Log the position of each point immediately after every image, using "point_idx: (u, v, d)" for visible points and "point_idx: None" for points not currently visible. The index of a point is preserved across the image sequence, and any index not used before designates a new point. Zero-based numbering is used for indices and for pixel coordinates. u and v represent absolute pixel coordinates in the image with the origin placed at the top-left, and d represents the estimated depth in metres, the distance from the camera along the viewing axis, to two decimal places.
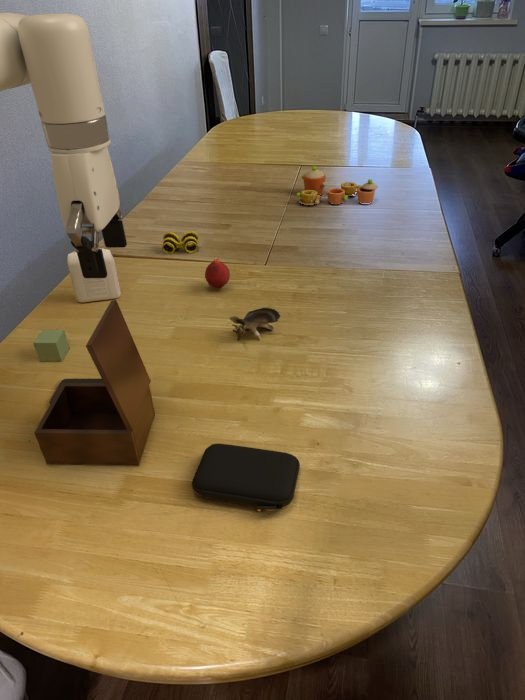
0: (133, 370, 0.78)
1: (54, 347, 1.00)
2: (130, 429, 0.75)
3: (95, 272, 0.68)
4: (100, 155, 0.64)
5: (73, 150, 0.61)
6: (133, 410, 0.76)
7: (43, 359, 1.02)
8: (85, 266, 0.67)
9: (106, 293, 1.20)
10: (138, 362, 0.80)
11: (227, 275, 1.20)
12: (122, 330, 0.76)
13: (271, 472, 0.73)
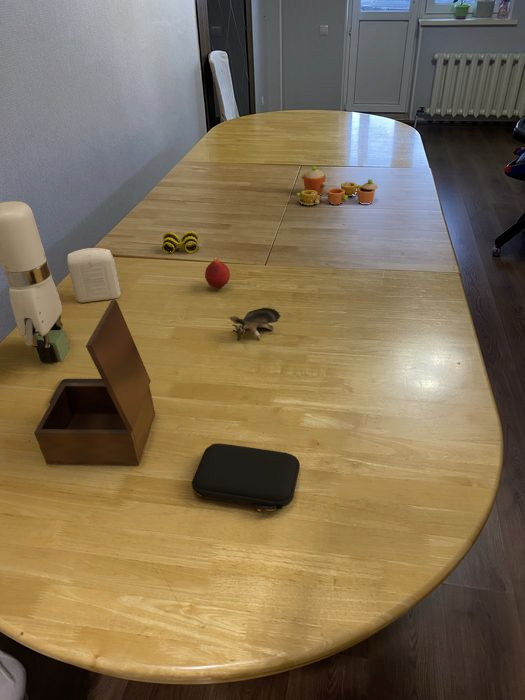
0: (133, 370, 0.78)
1: (54, 347, 1.00)
2: (130, 429, 0.75)
3: (48, 360, 1.00)
4: (44, 285, 0.94)
5: (24, 287, 0.91)
6: (133, 410, 0.76)
7: None
8: (41, 356, 1.00)
9: (106, 293, 1.20)
10: (138, 362, 0.80)
11: (227, 275, 1.20)
12: (122, 330, 0.76)
13: (271, 472, 0.73)
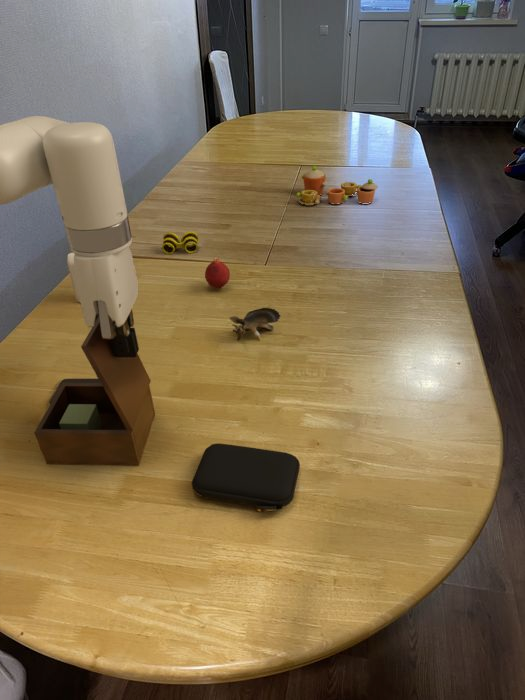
0: (132, 370, 0.78)
1: (85, 428, 0.80)
2: (130, 429, 0.75)
3: (126, 353, 0.72)
4: (122, 253, 0.64)
5: (96, 253, 0.61)
6: (132, 410, 0.76)
7: None
8: (117, 348, 0.72)
9: None
10: (137, 362, 0.80)
11: (227, 275, 1.20)
12: None
13: (271, 472, 0.73)
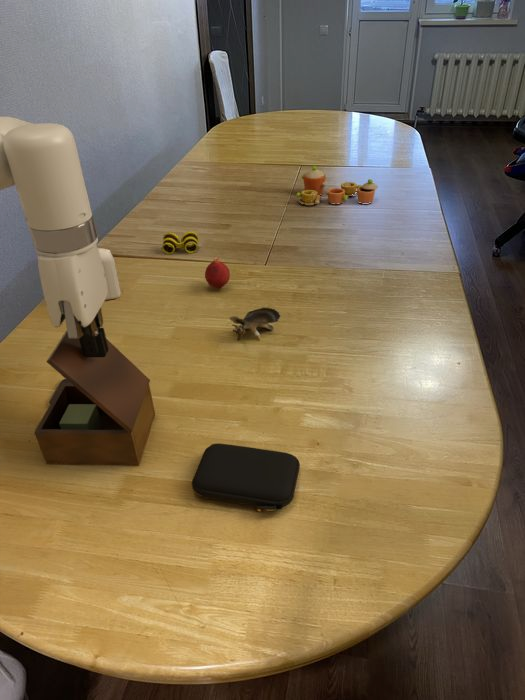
0: (120, 373, 0.79)
1: (85, 428, 0.80)
2: (129, 429, 0.75)
3: (95, 353, 0.72)
4: (87, 253, 0.64)
5: (60, 254, 0.61)
6: (128, 411, 0.76)
7: None
8: (86, 348, 0.72)
9: None
10: (127, 365, 0.81)
11: (227, 275, 1.20)
12: None
13: (271, 472, 0.73)
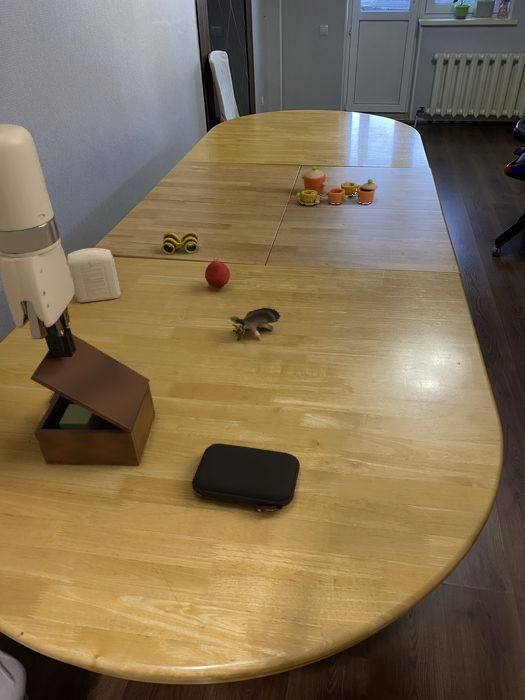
0: (114, 378, 0.79)
1: (85, 428, 0.80)
2: (128, 429, 0.75)
3: (61, 353, 0.73)
4: (50, 254, 0.65)
5: (20, 254, 0.61)
6: (126, 412, 0.76)
7: None
8: (52, 348, 0.72)
9: (106, 293, 1.20)
10: (121, 369, 0.81)
11: (227, 275, 1.20)
12: (83, 350, 0.79)
13: (271, 472, 0.73)
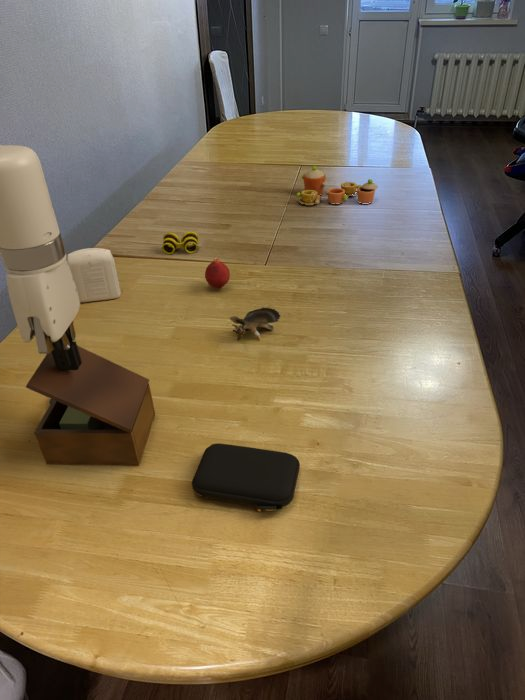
0: (112, 380, 0.79)
1: (85, 428, 0.80)
2: (128, 429, 0.75)
3: (67, 366, 0.74)
4: (56, 270, 0.66)
5: (27, 271, 0.63)
6: (125, 412, 0.76)
7: None
8: (58, 361, 0.73)
9: (106, 293, 1.20)
10: (119, 371, 0.82)
11: (227, 275, 1.20)
12: None
13: (271, 472, 0.73)
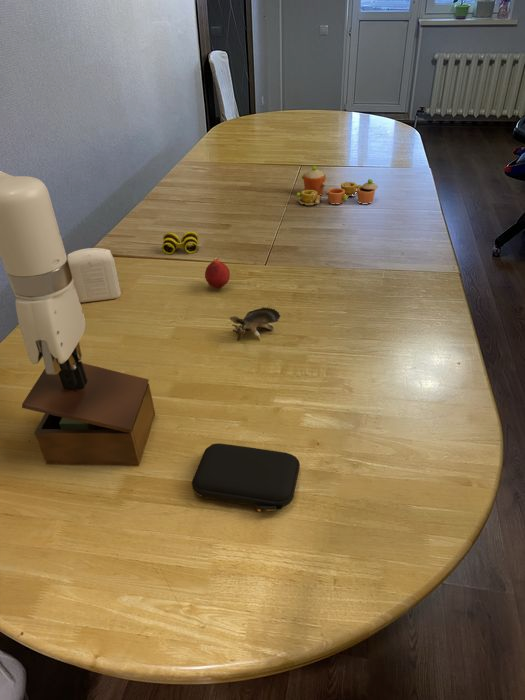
0: (109, 387, 0.80)
1: (85, 428, 0.80)
2: (127, 430, 0.75)
3: (74, 385, 0.76)
4: (63, 295, 0.68)
5: (36, 297, 0.65)
6: (123, 414, 0.77)
7: None
8: (65, 381, 0.76)
9: (106, 293, 1.20)
10: (117, 377, 0.82)
11: (227, 275, 1.20)
12: None
13: (271, 472, 0.73)
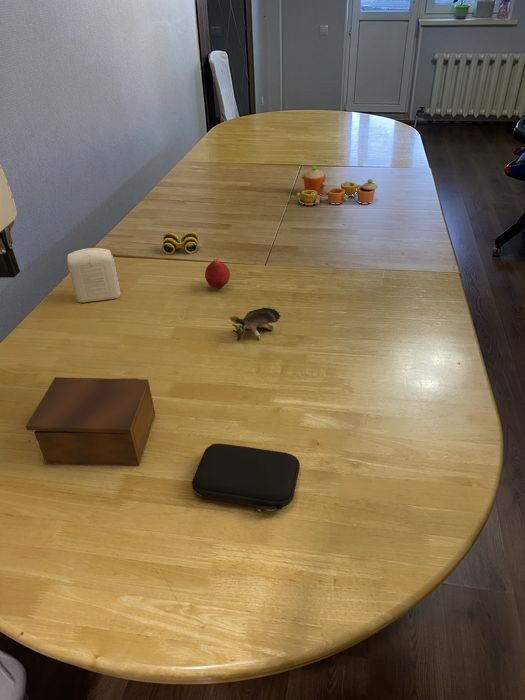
0: (108, 394, 0.81)
1: None
2: (127, 430, 0.75)
3: (4, 272, 0.76)
4: None
5: None
6: (123, 416, 0.77)
7: None
8: None
9: (106, 293, 1.20)
10: (116, 384, 0.83)
11: (227, 275, 1.20)
12: (75, 385, 0.83)
13: (271, 472, 0.73)
